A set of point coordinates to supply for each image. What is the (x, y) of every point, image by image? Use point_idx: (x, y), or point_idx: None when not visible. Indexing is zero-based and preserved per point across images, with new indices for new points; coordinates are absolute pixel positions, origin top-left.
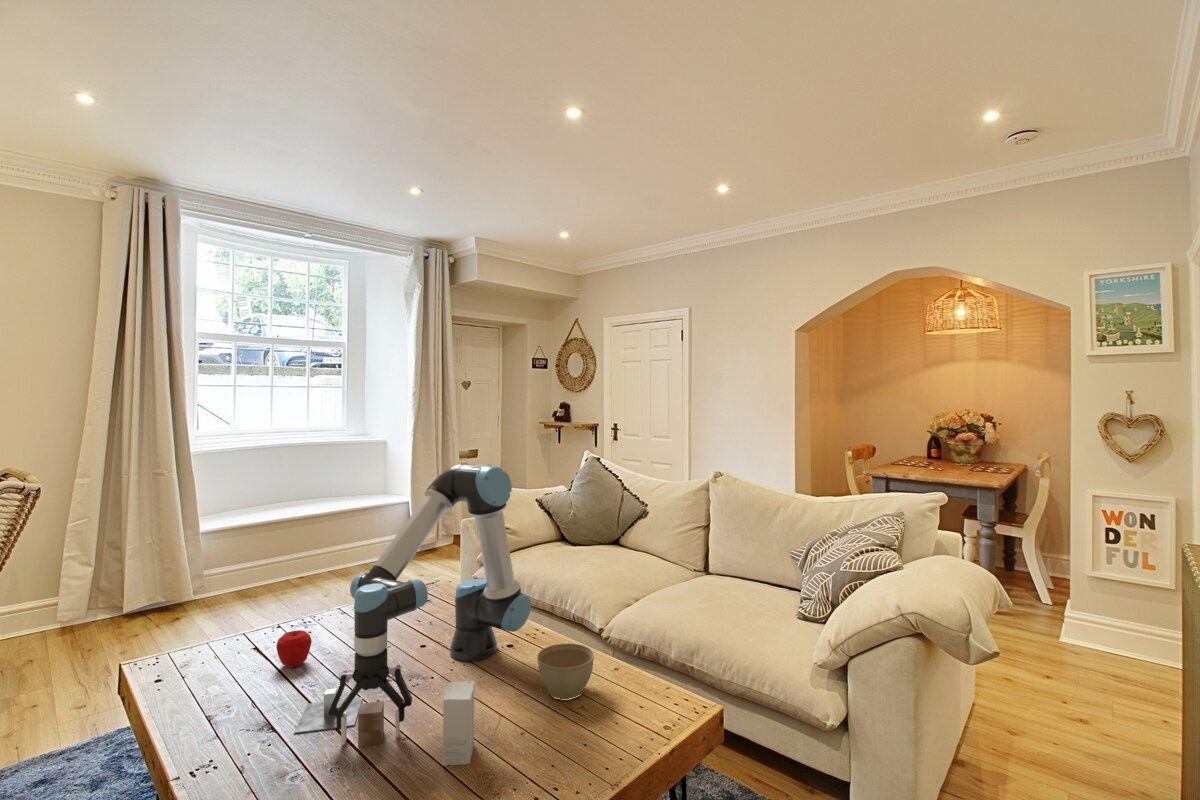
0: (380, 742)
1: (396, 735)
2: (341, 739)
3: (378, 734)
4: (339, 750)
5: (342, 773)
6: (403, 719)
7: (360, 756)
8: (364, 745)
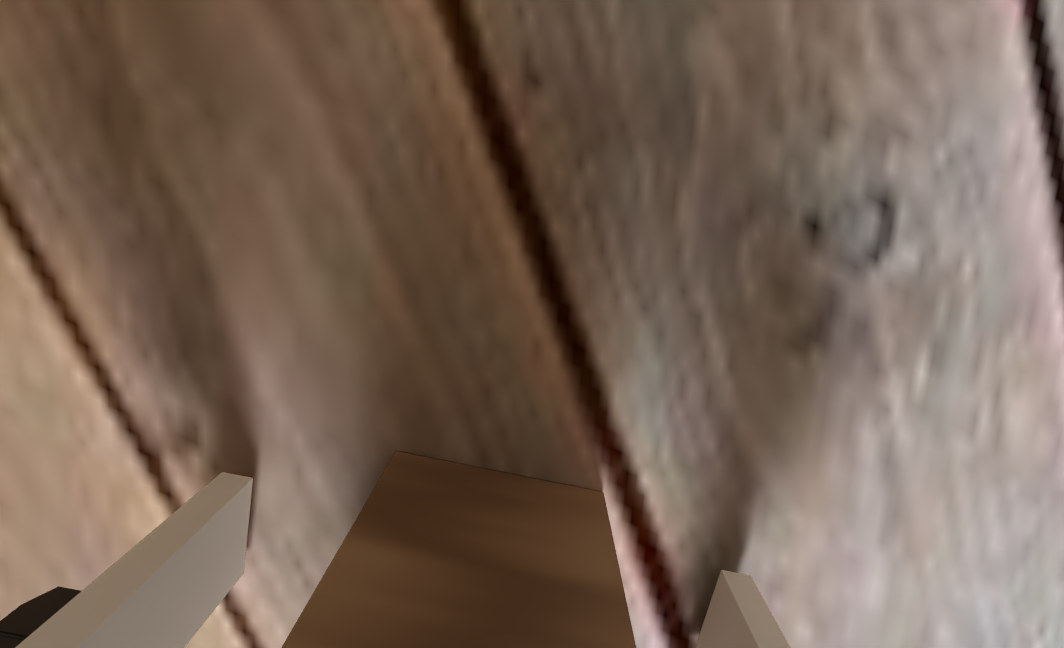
0: (398, 460)
1: (233, 486)
2: (769, 615)
3: (394, 509)
4: (766, 513)
5: (794, 107)
6: (28, 603)
7: (596, 330)
8: (547, 485)
